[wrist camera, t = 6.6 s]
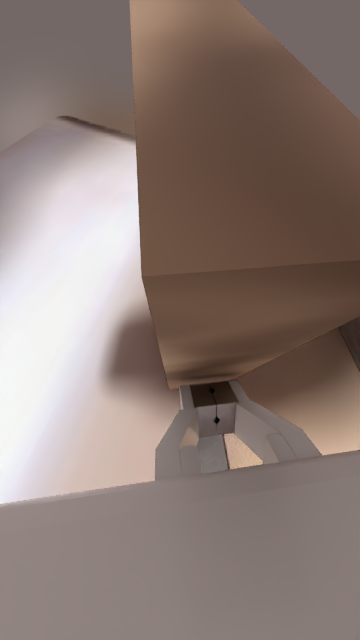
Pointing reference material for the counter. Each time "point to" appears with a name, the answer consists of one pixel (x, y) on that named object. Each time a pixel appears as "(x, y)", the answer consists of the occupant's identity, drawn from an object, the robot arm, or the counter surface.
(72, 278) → the counter surface
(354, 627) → the robot arm
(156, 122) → the brown flat angular block
